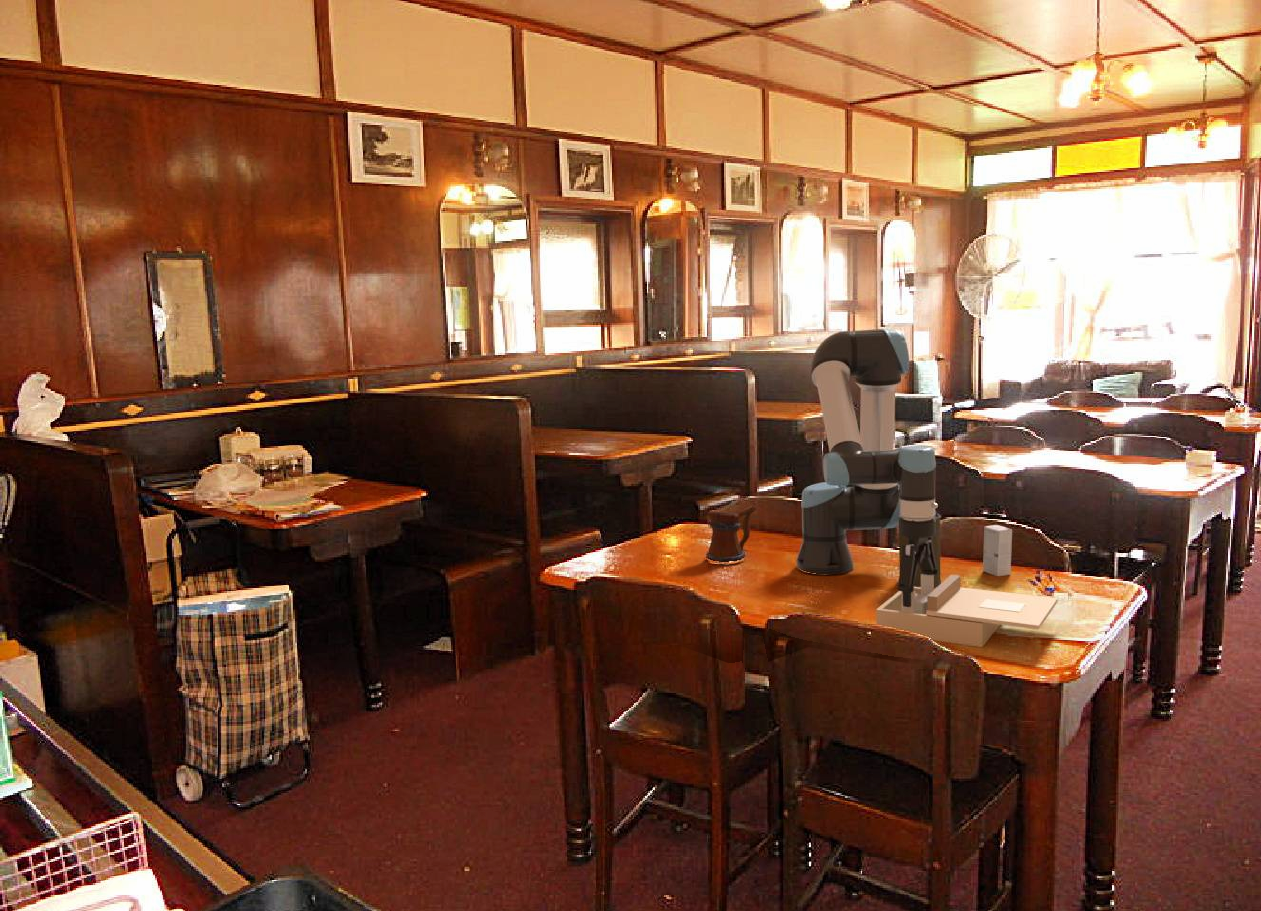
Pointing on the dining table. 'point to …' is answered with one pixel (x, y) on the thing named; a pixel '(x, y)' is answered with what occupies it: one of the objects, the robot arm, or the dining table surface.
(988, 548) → the skincare box
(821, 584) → the dining table surface
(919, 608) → the small box
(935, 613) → the lid
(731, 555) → the mug
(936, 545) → the canister
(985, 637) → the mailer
